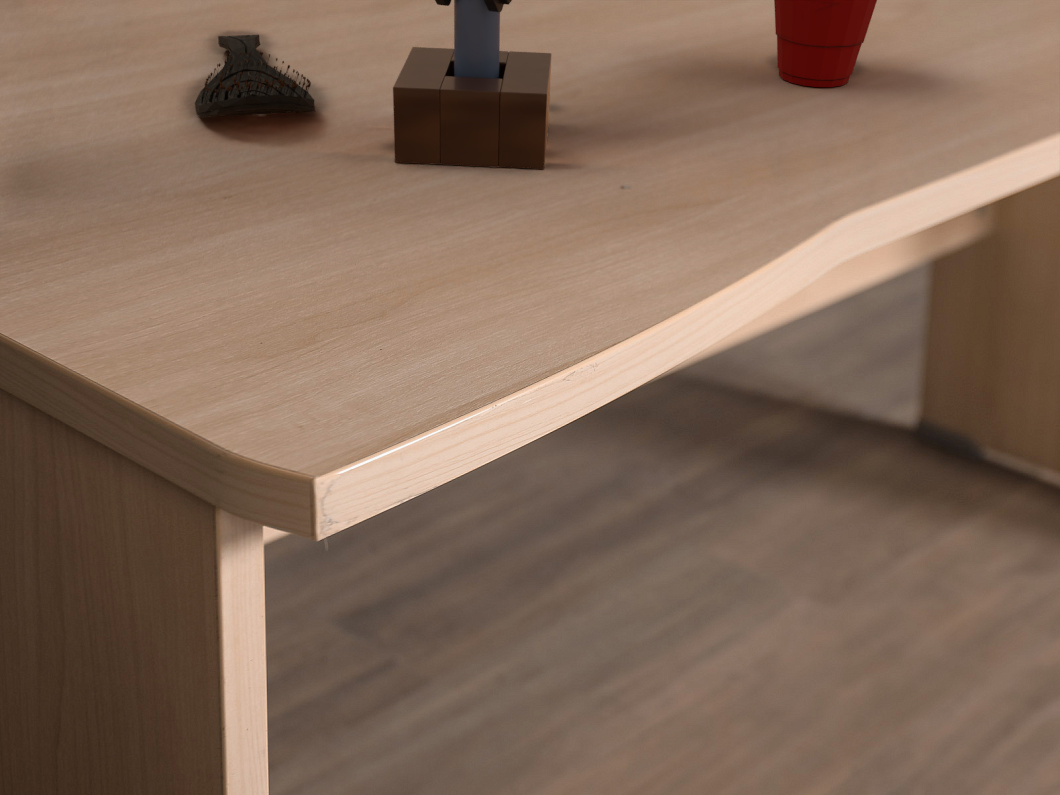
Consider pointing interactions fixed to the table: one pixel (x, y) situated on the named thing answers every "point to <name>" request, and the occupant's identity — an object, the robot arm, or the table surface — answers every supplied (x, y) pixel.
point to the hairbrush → (250, 84)
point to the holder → (472, 111)
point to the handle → (476, 40)
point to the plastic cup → (820, 39)
